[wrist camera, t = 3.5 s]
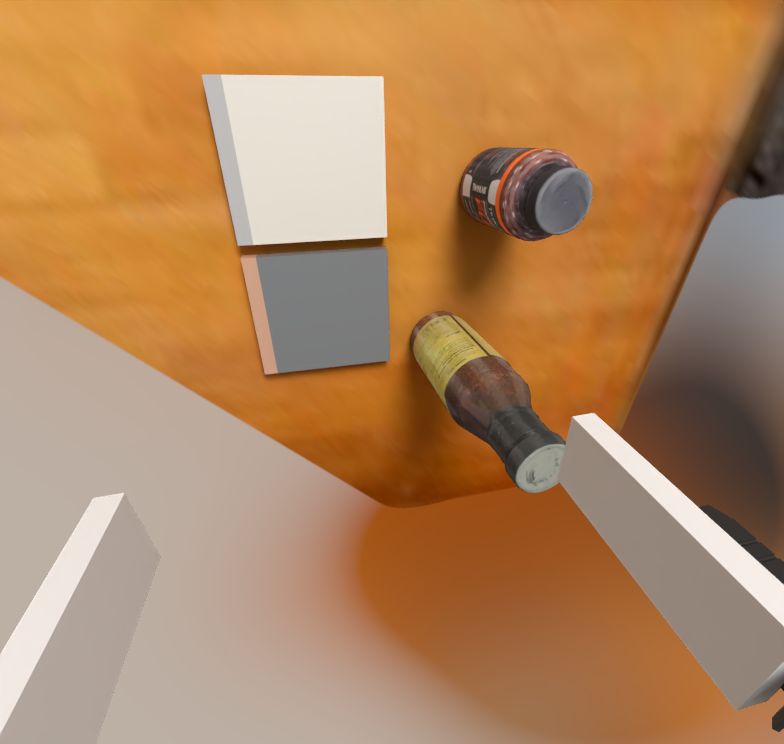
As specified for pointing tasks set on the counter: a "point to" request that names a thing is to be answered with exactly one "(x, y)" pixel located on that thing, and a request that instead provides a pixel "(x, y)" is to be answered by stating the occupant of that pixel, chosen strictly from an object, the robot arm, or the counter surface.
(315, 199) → the cream square tile
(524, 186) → the supplement bottle
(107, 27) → the counter surface
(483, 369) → the sauce bottle
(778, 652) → the robot arm
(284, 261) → the grey square coaster
